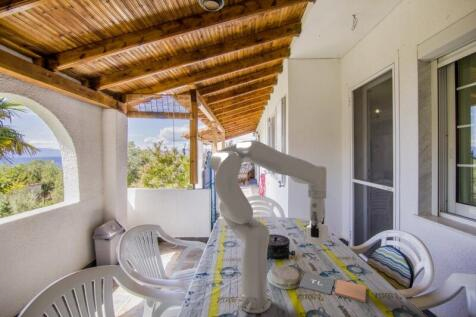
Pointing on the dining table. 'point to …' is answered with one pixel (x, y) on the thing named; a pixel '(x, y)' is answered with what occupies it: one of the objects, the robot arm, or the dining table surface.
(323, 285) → the tile
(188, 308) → the dining table surface
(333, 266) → the dining table surface
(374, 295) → the dining table surface
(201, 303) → the dining table surface
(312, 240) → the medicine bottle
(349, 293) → the terracotta pad
